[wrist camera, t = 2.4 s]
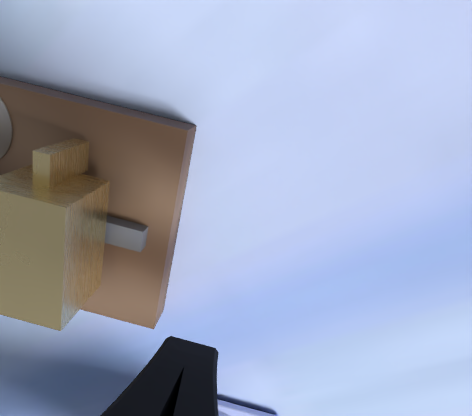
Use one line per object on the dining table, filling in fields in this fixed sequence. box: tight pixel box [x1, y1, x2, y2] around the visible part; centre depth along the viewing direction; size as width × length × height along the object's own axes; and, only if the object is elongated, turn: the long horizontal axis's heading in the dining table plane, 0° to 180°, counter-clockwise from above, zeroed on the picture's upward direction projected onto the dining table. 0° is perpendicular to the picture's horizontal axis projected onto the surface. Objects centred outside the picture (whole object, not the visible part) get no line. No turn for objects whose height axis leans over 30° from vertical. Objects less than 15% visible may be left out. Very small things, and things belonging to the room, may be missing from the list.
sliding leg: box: [0, 138, 110, 331], centre depth 13 cm, size 6×3×4 cm, turn 167°
